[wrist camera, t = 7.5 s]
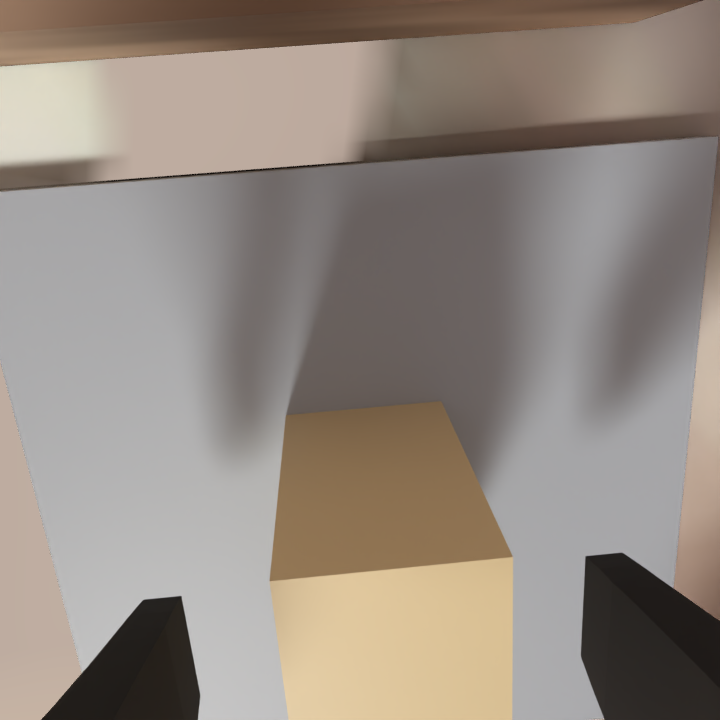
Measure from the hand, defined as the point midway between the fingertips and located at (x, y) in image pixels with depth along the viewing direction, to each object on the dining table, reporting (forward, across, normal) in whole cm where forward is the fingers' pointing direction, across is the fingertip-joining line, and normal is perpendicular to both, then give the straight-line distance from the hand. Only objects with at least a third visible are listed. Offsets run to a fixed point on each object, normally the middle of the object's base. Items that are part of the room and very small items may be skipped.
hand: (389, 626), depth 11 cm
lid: (+4, 0, -1) cm, 4 cm away
